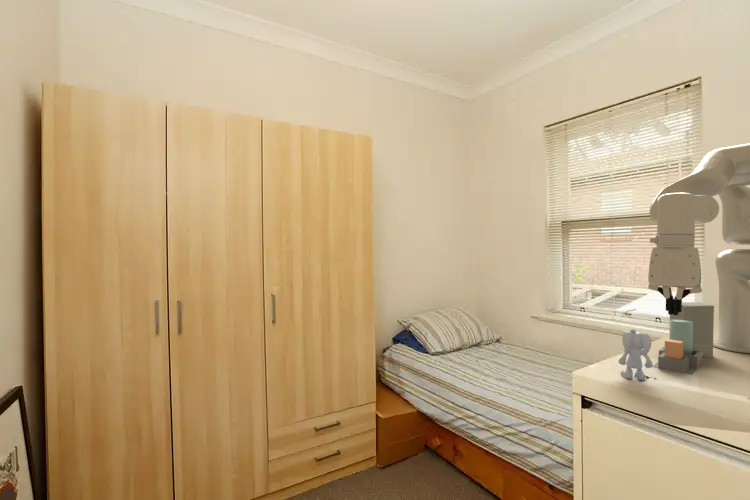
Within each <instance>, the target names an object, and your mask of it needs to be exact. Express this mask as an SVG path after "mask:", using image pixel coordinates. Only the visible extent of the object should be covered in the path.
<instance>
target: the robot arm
mask: <svg viewBox="0 0 750 500" xmlns="http://www.w3.org/2000/svg"><path fill="white" fill-rule="evenodd" d="M749 186H750V143H745V144H739V145H732V146H727V147H720V148H717V149H714V150H712V151H709V152H708V153H706V155H705V156H704V157H703V158H702V160H701V161H700V163H699V164H698V166H697V167H696V168H695V169H694V171H693V172H692V173H691V174H689V175H687V176H685V177H682V178H680V179H679V180H676V181H675V182H673V183H670V184H669V185H667V186H665V187H664V188H662V189H661V190H660V191H659V192H658V194H657V195H656V196H655V198H654V199H653V200H652V202H651V204H650V208H649V217H650V220H651V221H652V222H653V223H654V224H656V236H655V237H650V238H649V243H650V244H655V247H652V249H651V254H650V259H649V266H648V278H647V279H648V287H647V288H648V290H652V291H655V292H659V293H660V294H661V296H663V298H665V311H667V312H668V313H667V315H669V316H670V315H672V314H673V315H678V314H679V312H681V311H682V302H683V299H684V298H685V297H687V296H689V295H691V294H700V293H702V292H703V289H702V286H701V284H702V266H701V258H700V253H699V248H698V247H695V237H696V236H695V235H696V234H695V231H696V230H695V229H696V225H700V224H701V225H704V224H707V223H710V222H712V221H714V220H715V219H716V218H717V217H718V216H719V213H720V205H719V203H718V201H717V200H716V199H715V197H714V196H718V197H719V198H720V201H721V235H722V238H723V241H724V242H725V243H727V244H729V245H737V246H738V245H739V246H750V187H749ZM715 268H716V273H717V278H718V340H713V348H714V347H715V348H718V349H721V350H725V351H731V352H736V353H742V354H743V353H744V354H750V248H734V249H733V248H732V249H726V250H723V251H721V252H718V254H717V256H716V258H715ZM672 288H677V290H676V295H675V296H673V294H672Z"/></svg>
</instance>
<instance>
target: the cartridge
mask: <svg viewBox="0 0 750 500" xmlns="http://www.w3.org/2000/svg"><path fill="white" fill-rule="evenodd" d="M669 339H671V340H678V341H683V354H687V355H692V344H693V322H691V321H685V320H670V319H669Z"/></svg>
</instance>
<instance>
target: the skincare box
mask: <svg viewBox="0 0 750 500" xmlns="http://www.w3.org/2000/svg"><path fill="white" fill-rule="evenodd" d="M714 313H715V305H713V304H712V305H711V304H708V303H704V302H700V301H688V302H687V301H685V302H683V301H682V311H681V312H679V314H678V315H673V314H672V315H669V321H670V320H685V321H691V322H693V344H692V350H697V351H703V355H702V357H710V358H711V357H714V346H713V341H714V327H715V326H714V322H715V321H714V315H715V314H714Z"/></svg>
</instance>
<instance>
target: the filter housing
mask: <svg viewBox="0 0 750 500" xmlns="http://www.w3.org/2000/svg"><path fill="white" fill-rule="evenodd" d="M702 355H703V351H697V350H692V355H687V354H683V359H682V360H680V359H674V358H669V357H665V345H664V346H663V347H661V348H660V349H659V350H658V356H657V357H658V359H657V362H656V363H655V364H653V366H652V367H651V368H655V369H659V370H665V371H670V372H675V373H680V374H685V375H690V376H693V375H694V373H695V372H696V370H698V369H699V367H701V365H702V364H703V356H702Z"/></svg>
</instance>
